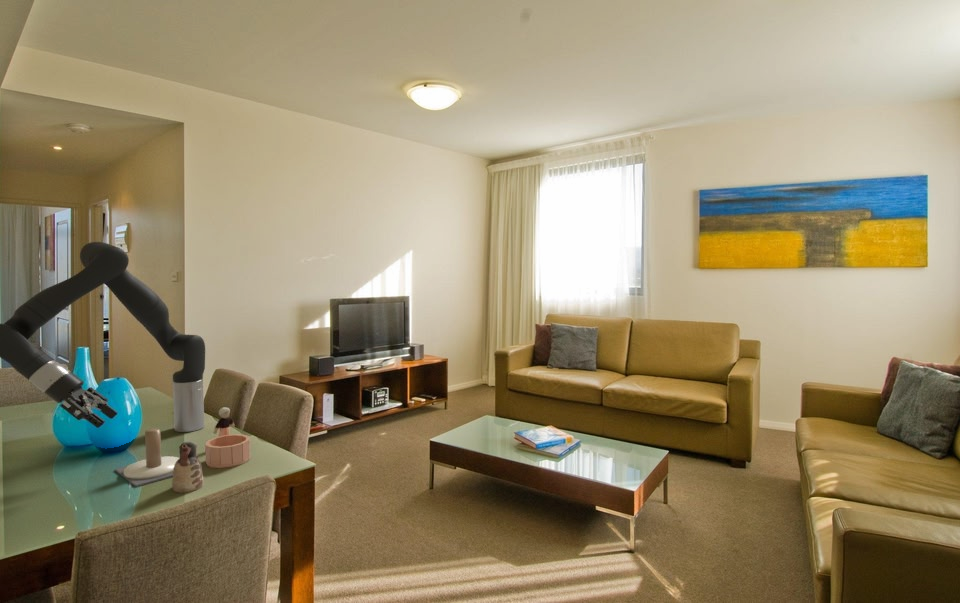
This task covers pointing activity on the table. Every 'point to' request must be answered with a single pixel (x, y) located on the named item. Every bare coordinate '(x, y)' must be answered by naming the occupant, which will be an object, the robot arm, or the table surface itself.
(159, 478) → the mat
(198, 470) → the figurine
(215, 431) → the grandmother figurine
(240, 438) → the bowl
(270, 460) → the table surface
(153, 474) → the cover
